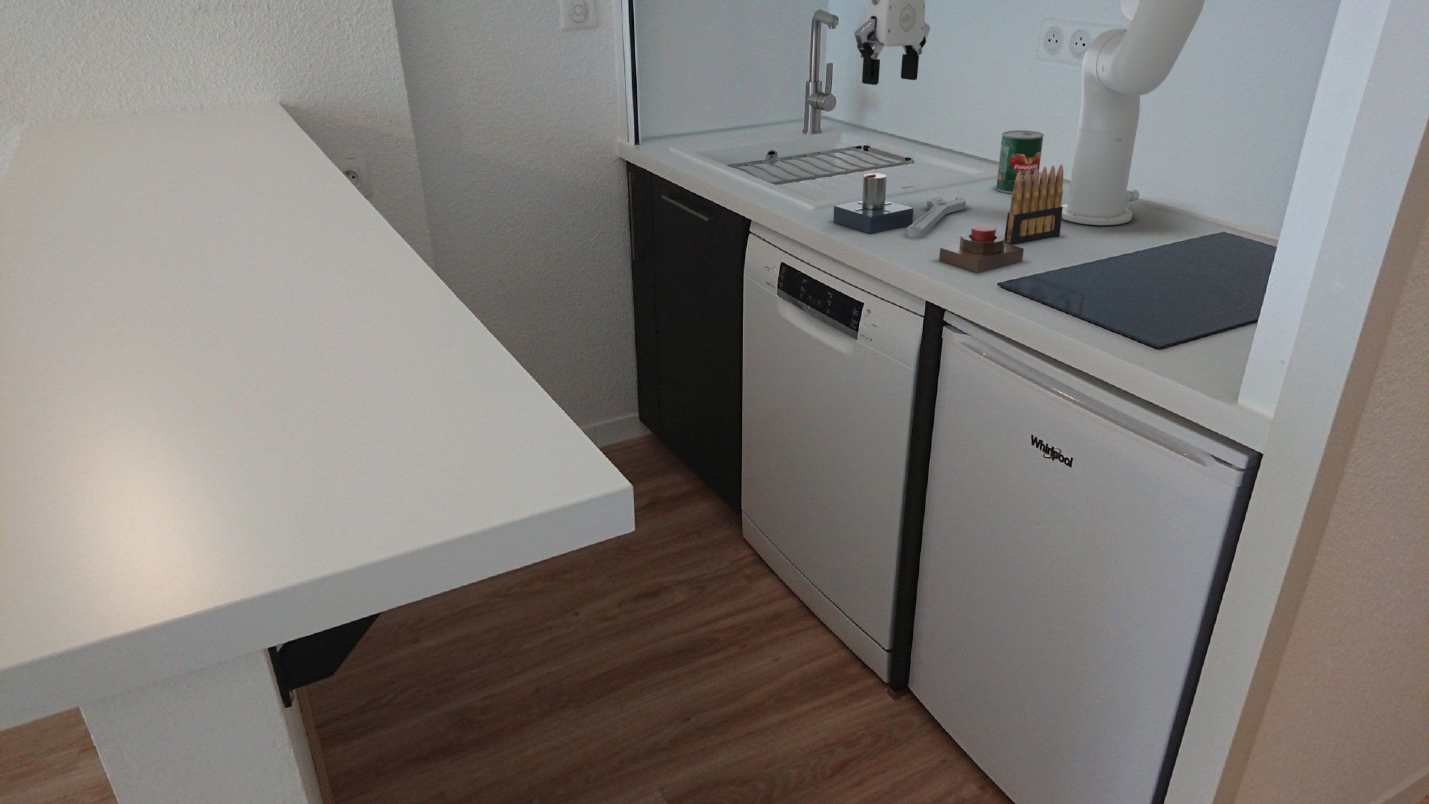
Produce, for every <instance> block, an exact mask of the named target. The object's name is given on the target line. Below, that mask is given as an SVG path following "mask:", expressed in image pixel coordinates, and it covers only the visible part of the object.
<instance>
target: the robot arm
mask: <svg viewBox="0 0 1429 804" xmlns="http://www.w3.org/2000/svg"><path fill="white" fill-rule="evenodd" d="M1205 1H1206V0H1119V8H1120V11H1121V12H1122V14H1123V15H1124V16H1125V17H1126V18H1127V19H1128V20H1130V23H1129V25H1128V27H1127V28H1113V29H1109V30H1106V31H1104V32H1102V33H1100V34H1099V35H1097V36H1096V37H1095V38H1093V40H1092V41H1091V42H1090V44H1089V45H1088V46H1087V49H1086V50H1085V53H1084V56H1083V59H1082V65H1081V66H1082V67H1081V102H1080V112H1079V119H1078V126H1077V133H1076V140H1075V147H1074V152H1073V153H1074V155H1073V161H1072V168H1071V177H1070V184H1069V191H1068V198H1067V203H1065V204H1061V207H1063V209H1062V219H1061V220H1065V221H1067V222H1071V223H1075V224H1081V225H1089V226H1116V225H1122V224H1126V223H1128V222H1130V221H1132V219H1133V212H1132V211H1131V210H1130V209H1129V208H1127V204H1128V203H1129V202H1130V203H1131V202H1134V201H1137V200H1138V199H1139V198H1140V192H1139V191H1138V190H1137V189H1132V190H1128V187H1129V178H1130V173H1131V167H1132V161H1133V156H1134V155H1133V154H1134V149H1135V144H1136V143H1135V142H1136V137H1137V132H1138V131H1137V130H1138V125H1139V119H1140V109H1141V97H1142V96H1145V95H1147V94H1150V93H1152V92H1153V91H1155V90H1156V89H1158V88H1159V87H1160V86H1161V85H1162V84H1163V83H1164V81H1165V80H1166V79H1167V78H1168V76H1169V74H1170V73H1171V71H1172V70H1173V68H1174V66H1175V64H1176V62H1177V60H1178V58H1179V56H1180V54H1181V53H1182V51H1183V48H1184V47H1185V45H1186V43H1187V42H1188V39H1189V38H1190V36H1191V33H1192V31H1193V29H1194V27H1195V26H1196V24H1197V21H1198V19H1199V17H1200V15H1201V13H1202V11H1203V9H1204V8H1203V7H1204V6H1205V5H1204V4H1205ZM925 21H926V0H868V1H867V7H866V17H865V22H864V24H862V25H861V26H859V27H858V28H857V29H856V30H855V31H854V37H855V41H856V46H857V47H856V48H857V50H858V51H859V53H860V58H861V59H862V75H861V83H862V84H865V85H871V86H877V85H878V84H879V81H880V69H881V59H880V58H878V57H879V56H880V53H881V52H882V50H883V49H884V47H890V48H891V47H892V48H893V47H902V49H903V50H904V52H905V53H902V56H901V67H900V79H902V80H907V81H916V80H917V79H918V73H919V61H920V56H921V55H922V53H923V48H924V46H925V45H926V43H927V38H928V36H929V33H930V31H931V26H930V25H929V24H928V23H926V22H925Z"/></svg>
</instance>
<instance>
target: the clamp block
mask: <svg viewBox="0 0 1429 804" xmlns="http://www.w3.org/2000/svg"><path fill="white" fill-rule="evenodd" d="M914 209H915V208H914V207H911V206H908V205H904V204H901V203H896V202H893V201H889V200H886V199H885V207H884V208H882V209H866V208H863V207H862V200H857V201H851V202H847V203H842V204H836V205H834V206H833V223H836V224H838V225H842V226H845V227H847V228H851V229H853V230H857V231H860V232H863V233H866V234H869V235H871V234H875V233H880V232H885V231H889V230H890V231H891V230H895V229H899V228H904V227H909V226H910V225H911V224H913V223H914Z"/></svg>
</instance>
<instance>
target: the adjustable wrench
mask: <svg viewBox="0 0 1429 804" xmlns="http://www.w3.org/2000/svg"><path fill="white" fill-rule="evenodd" d="M926 209H927V210H928V211H926V212H925V213H923V215H921V216H920V217H919V218H917V219H916V220H915V221H913V224H911V225H908V226H907V229H906V237H907V238H912V239H918V238H922V237H923V236H925V235H926V234H927V233H928V232H929V231H930V230H931V229H932V228H933V227H934V226H935V225H936V224H937V223H938V222H939V221H941V219H942V218H943V217H944V216H946V215H948V214H951V213H954V212H960V211H962V210H964V209H966V199H965V198H964V197H961V196H955V199H953V200H943V197H942V196H935V197H932V198H930V200H927V201H926Z"/></svg>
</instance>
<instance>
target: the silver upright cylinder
mask: <svg viewBox="0 0 1429 804" xmlns="http://www.w3.org/2000/svg"><path fill="white" fill-rule="evenodd" d="M887 178H888V177H887V174H884V173H879V172H877V173H876V172H875V173H873V172H872V173H871V172H870V173H865V174H863V179H862V198H861V199H862V200H861V201H862V207H863V208H866V209H882V208H884V207H885V200H886V191H887Z"/></svg>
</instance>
